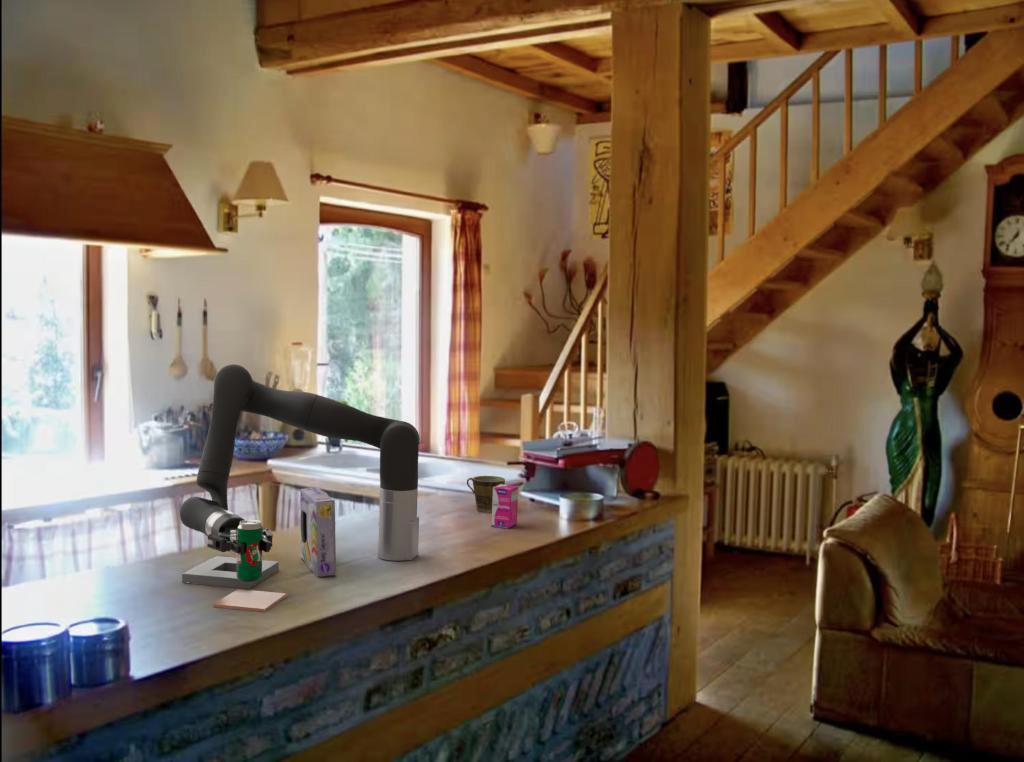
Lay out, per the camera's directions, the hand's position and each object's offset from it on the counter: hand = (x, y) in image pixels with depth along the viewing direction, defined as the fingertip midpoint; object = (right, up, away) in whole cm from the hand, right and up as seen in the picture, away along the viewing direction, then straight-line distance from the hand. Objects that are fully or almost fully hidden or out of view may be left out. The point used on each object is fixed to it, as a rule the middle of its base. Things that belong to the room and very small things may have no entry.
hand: (255, 548), depth 201 cm
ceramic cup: (+43, -6, +101) cm, 110 cm away
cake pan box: (+6, -10, +31) cm, 33 cm away
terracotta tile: (-2, -11, +3) cm, 12 cm away
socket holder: (-11, -10, +21) cm, 25 cm away
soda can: (-2, -7, +3) cm, 8 cm away
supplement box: (+50, -8, +81) cm, 95 cm away
